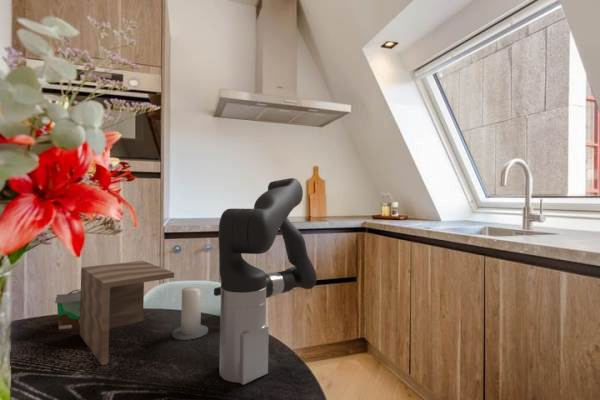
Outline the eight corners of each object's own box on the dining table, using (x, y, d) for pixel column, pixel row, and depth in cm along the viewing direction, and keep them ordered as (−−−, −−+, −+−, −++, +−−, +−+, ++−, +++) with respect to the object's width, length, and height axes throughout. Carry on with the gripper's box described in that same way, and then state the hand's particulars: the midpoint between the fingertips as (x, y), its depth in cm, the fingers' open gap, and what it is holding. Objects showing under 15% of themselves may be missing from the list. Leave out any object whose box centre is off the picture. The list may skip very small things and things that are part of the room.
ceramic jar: (203, 330, 83) (204, 289, 84) (186, 336, 80) (187, 292, 80) (195, 325, 87) (195, 285, 87) (177, 330, 83) (178, 288, 84)
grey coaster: (214, 333, 83) (214, 331, 83) (181, 343, 77) (181, 341, 77) (198, 323, 90) (198, 321, 90) (166, 332, 83) (166, 330, 83)
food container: (77, 334, 81) (78, 295, 81) (54, 334, 81) (55, 295, 81) (108, 317, 94) (108, 283, 94) (87, 316, 94) (88, 283, 94)
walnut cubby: (172, 343, 77) (174, 272, 77) (101, 365, 66) (103, 282, 66) (141, 319, 92) (142, 260, 92) (79, 334, 81) (81, 267, 81)
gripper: (253, 270, 107) (209, 277, 95) (281, 277, 97) (236, 287, 85) (252, 292, 106) (209, 302, 95) (281, 302, 96) (236, 315, 85)
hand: (222, 295), depth 90 cm, fingers open, 8 cm apart
